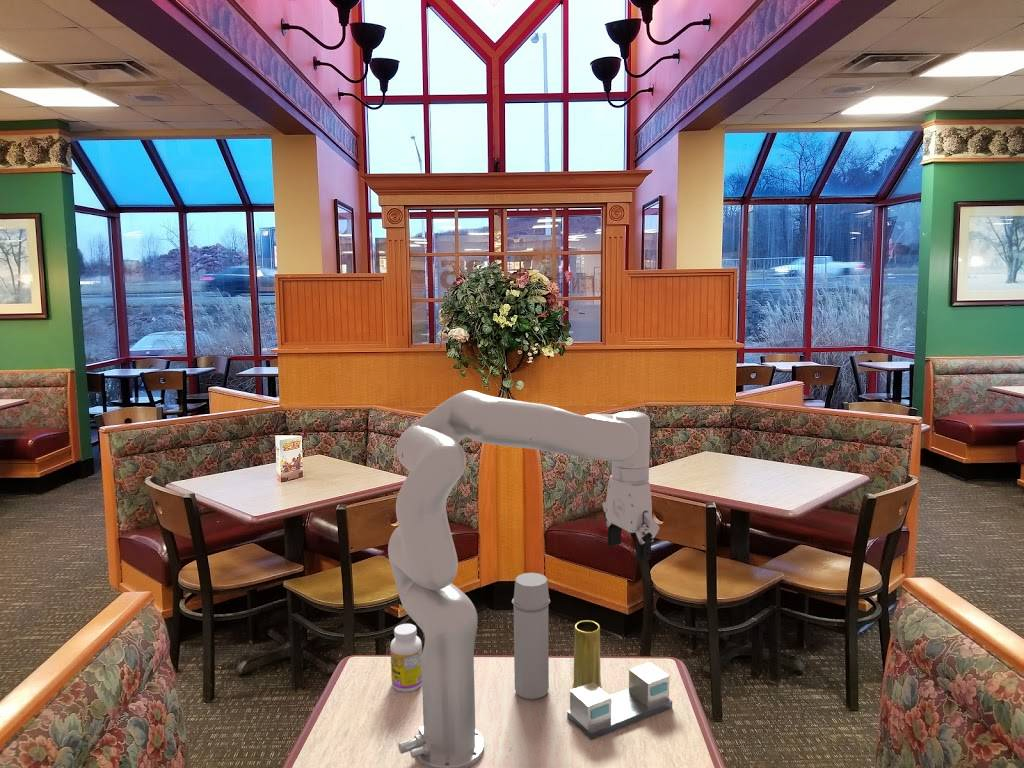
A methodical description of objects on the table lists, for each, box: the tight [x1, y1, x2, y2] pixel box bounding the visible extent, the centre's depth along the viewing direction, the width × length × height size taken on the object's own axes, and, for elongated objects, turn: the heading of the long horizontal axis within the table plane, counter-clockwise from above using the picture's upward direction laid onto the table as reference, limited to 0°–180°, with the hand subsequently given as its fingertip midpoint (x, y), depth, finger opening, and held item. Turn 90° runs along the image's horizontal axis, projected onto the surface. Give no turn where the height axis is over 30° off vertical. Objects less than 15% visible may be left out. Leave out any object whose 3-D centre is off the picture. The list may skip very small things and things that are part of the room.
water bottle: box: [511, 572, 551, 700], centre depth 152 cm, size 9×8×25 cm
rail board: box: [566, 661, 673, 741], centre depth 145 cm, size 20×8×6 cm, turn 119°
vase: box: [572, 619, 603, 690], centre depth 153 cm, size 6×6×14 cm
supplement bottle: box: [389, 623, 423, 693], centre depth 156 cm, size 7×7×13 cm
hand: (628, 552), depth 152 cm, fingers open, 9 cm apart
